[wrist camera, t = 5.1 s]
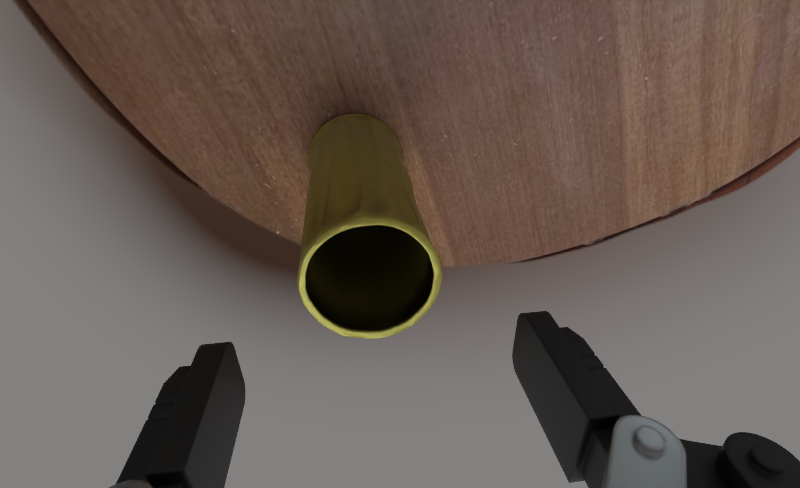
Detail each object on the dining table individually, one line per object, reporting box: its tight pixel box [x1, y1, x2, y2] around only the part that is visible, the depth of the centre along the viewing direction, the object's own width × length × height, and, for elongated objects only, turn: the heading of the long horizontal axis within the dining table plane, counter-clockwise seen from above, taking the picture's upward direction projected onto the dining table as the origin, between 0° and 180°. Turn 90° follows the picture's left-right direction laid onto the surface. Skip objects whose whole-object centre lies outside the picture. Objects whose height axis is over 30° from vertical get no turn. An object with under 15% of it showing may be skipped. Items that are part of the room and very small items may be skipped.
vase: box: [297, 114, 443, 338], centre depth 21 cm, size 6×6×14 cm
